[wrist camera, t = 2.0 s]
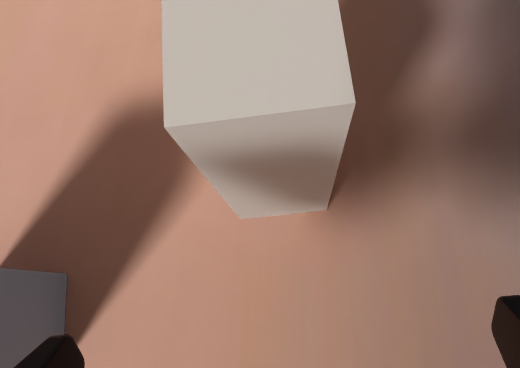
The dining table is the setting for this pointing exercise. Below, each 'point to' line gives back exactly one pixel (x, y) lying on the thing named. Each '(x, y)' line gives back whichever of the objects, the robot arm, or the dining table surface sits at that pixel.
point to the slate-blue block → (29, 311)
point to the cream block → (259, 98)
